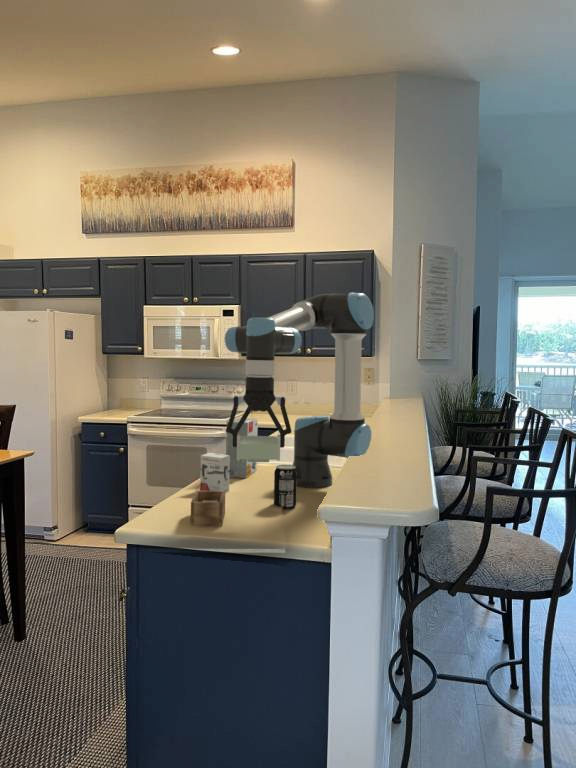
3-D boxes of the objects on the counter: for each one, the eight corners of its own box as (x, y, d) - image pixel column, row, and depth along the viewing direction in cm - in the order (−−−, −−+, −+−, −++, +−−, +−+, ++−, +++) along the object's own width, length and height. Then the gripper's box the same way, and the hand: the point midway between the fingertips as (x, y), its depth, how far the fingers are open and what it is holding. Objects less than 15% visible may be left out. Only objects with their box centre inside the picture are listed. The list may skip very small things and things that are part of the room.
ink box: (199, 490, 201) (199, 454, 200) (207, 488, 205) (208, 452, 205) (221, 494, 197) (222, 457, 196) (230, 491, 201) (230, 455, 201)
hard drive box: (246, 479, 220) (247, 422, 219) (225, 477, 222) (226, 421, 220) (257, 470, 235) (258, 417, 234) (237, 469, 237) (238, 417, 236)
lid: (276, 454, 174) (276, 436, 174) (277, 463, 160) (278, 444, 160) (240, 453, 173) (240, 435, 173) (238, 463, 160) (239, 443, 159)
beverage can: (283, 502, 188) (284, 463, 187) (300, 506, 184) (301, 466, 183) (269, 507, 183) (269, 466, 182) (286, 511, 179) (287, 469, 178)
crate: (225, 515, 172) (225, 490, 172) (222, 529, 160) (222, 502, 159) (195, 515, 172) (196, 490, 172) (190, 529, 159) (190, 502, 159)
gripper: (301, 376, 170) (299, 457, 171) (218, 374, 169) (216, 456, 170) (303, 377, 162) (301, 462, 164) (216, 376, 161) (214, 461, 163)
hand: (258, 459), depth 167 cm, fingers closed on lid, 10 cm apart
